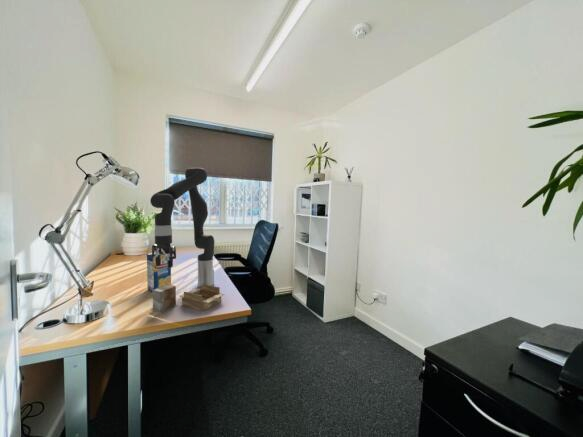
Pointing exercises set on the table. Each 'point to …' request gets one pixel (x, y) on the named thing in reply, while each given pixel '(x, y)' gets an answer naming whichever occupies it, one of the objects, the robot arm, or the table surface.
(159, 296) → the walnut block
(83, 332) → the table surface
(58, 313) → the table surface
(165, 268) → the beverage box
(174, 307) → the felt mat
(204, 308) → the kraft carton
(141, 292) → the table surface
